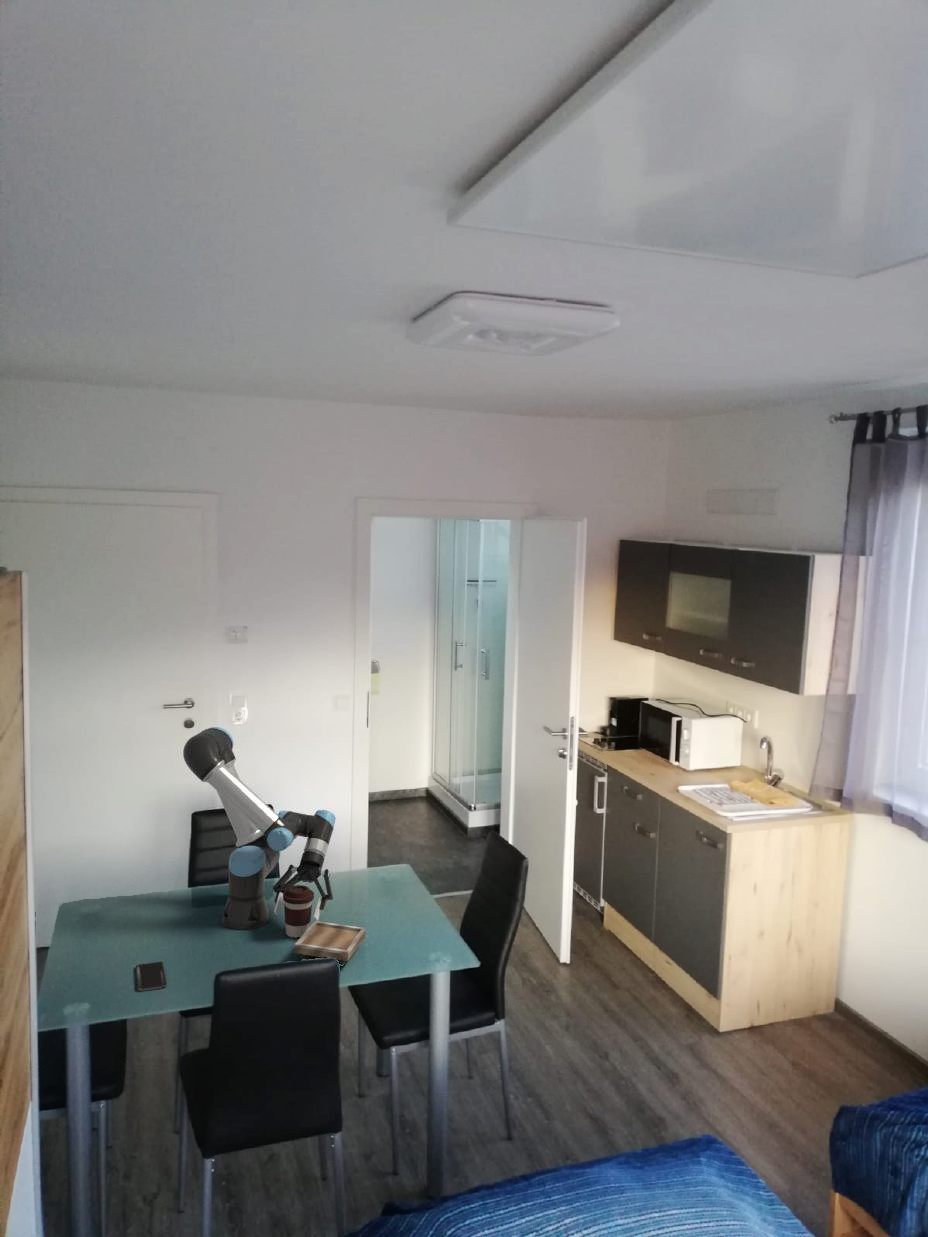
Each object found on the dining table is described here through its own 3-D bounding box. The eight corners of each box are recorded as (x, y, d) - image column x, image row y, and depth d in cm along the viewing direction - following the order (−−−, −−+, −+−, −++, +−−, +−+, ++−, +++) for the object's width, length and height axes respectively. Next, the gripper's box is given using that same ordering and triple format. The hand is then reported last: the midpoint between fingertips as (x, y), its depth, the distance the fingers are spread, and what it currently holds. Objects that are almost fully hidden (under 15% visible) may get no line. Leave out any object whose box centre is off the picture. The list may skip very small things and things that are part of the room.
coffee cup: (275, 935, 288) (276, 890, 287) (294, 924, 297) (295, 880, 295) (300, 943, 284) (301, 897, 282) (318, 931, 292) (320, 887, 291)
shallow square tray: (294, 962, 271) (294, 944, 270) (314, 938, 288) (315, 920, 287) (347, 970, 268) (348, 952, 267) (365, 945, 284) (365, 928, 284)
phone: (137, 990, 250) (135, 964, 263) (137, 993, 250) (135, 968, 263) (167, 985, 252) (163, 961, 266) (167, 989, 253) (163, 964, 266)
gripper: (351, 864, 301) (335, 925, 288) (282, 855, 306) (262, 915, 293) (347, 854, 295) (329, 916, 282) (276, 845, 300) (256, 906, 287)
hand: (295, 916), depth 288 cm, fingers open, 13 cm apart
